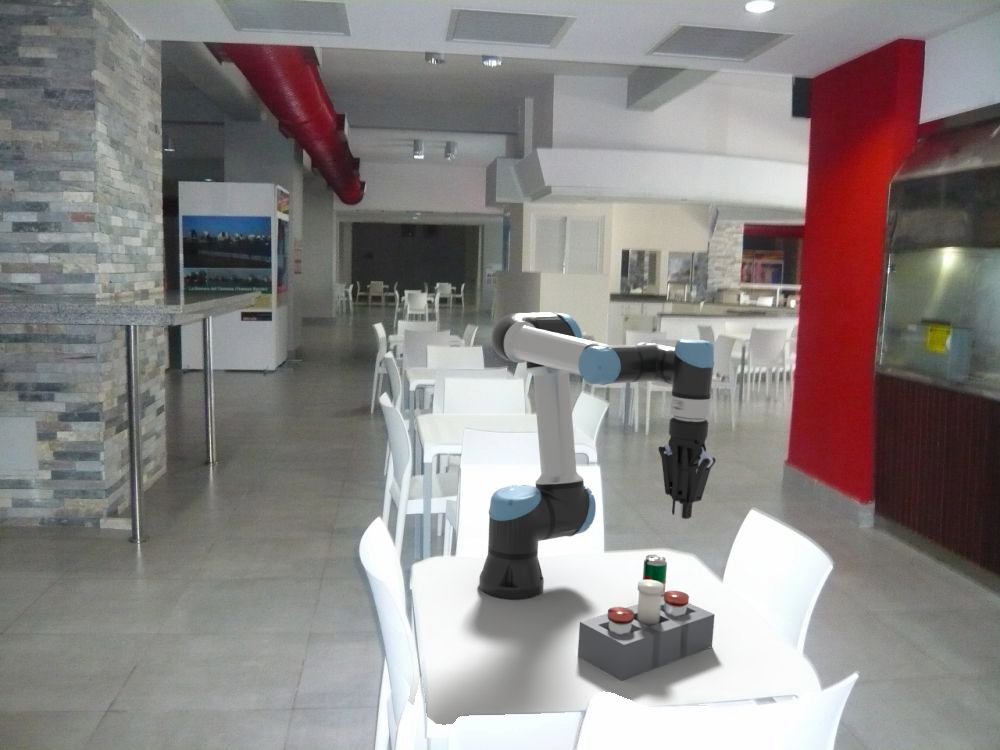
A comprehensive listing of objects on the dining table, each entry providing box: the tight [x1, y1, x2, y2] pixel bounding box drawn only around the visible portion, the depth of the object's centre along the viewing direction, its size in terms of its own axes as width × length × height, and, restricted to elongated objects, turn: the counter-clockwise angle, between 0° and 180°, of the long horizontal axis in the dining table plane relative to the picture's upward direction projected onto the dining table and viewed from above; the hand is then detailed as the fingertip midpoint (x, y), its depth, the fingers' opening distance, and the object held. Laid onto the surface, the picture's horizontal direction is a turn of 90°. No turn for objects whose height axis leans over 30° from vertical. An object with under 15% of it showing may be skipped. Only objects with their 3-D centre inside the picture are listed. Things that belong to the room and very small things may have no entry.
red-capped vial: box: [607, 606, 634, 636], centre depth 169 cm, size 5×5×9 cm
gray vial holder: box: [577, 597, 715, 681], centre depth 174 cm, size 26×12×7 cm, turn 128°
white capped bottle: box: [637, 579, 664, 627], centre depth 174 cm, size 5×5×9 cm
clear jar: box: [664, 590, 690, 618], centre depth 179 cm, size 5×5×9 cm
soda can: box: [642, 554, 668, 597], centre depth 195 cm, size 5×5×12 cm
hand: (680, 532), depth 177 cm, fingers closed
